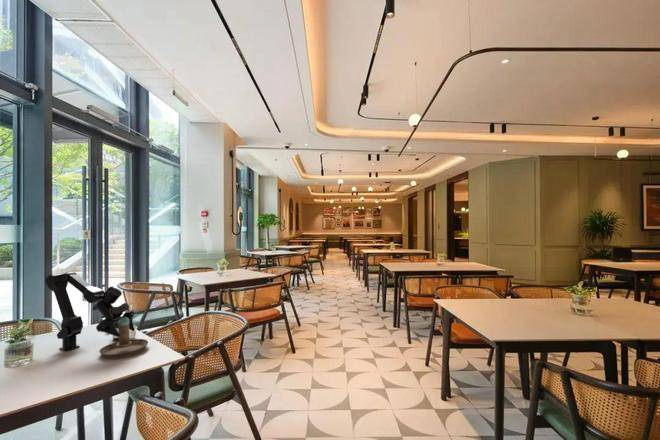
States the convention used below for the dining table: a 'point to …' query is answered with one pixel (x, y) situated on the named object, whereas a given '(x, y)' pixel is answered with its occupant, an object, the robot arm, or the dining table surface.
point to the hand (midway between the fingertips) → (126, 333)
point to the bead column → (123, 333)
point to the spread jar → (131, 333)
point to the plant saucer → (123, 349)
